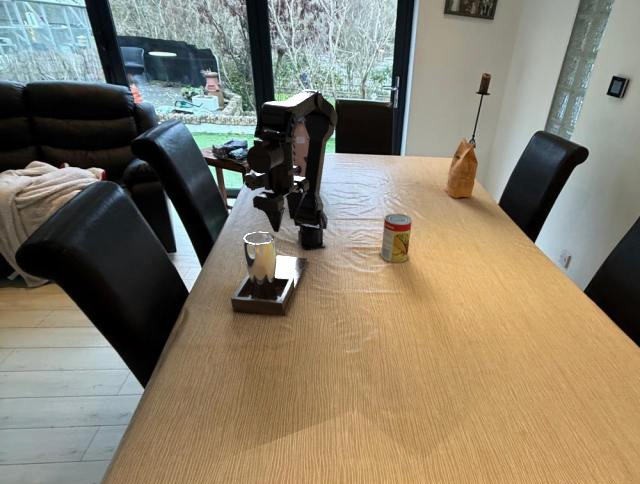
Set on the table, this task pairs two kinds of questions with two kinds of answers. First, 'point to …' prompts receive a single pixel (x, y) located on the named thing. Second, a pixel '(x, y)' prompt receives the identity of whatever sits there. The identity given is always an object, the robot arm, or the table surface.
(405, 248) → the canned food
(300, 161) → the ceramic pitcher
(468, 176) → the coffee package
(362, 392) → the table surface
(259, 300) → the dark rectangular tray
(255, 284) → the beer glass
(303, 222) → the robot arm
